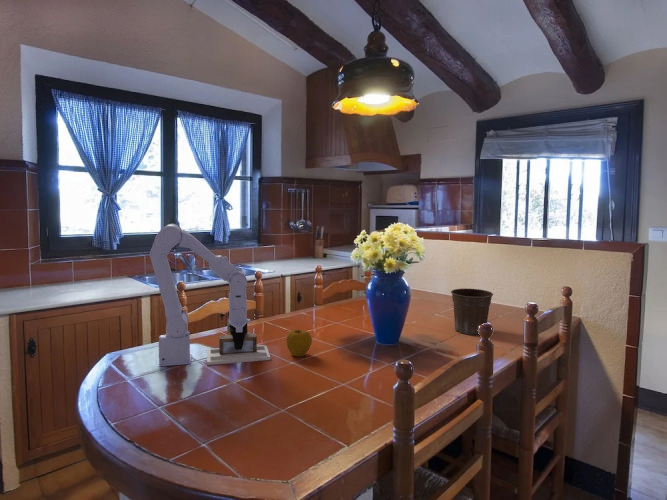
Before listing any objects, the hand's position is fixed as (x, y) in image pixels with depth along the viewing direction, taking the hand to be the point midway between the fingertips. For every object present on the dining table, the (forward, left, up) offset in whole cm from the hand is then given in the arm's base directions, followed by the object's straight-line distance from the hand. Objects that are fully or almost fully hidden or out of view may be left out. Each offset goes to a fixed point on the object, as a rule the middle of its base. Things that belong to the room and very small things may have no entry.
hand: (238, 347), depth 149 cm
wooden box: (0, 0, -2) cm, 2 cm away
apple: (+20, -3, -3) cm, 21 cm away
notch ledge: (0, 0, -3) cm, 3 cm away
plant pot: (+93, +9, -3) cm, 94 cm away
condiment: (0, +16, +1) cm, 16 cm away
